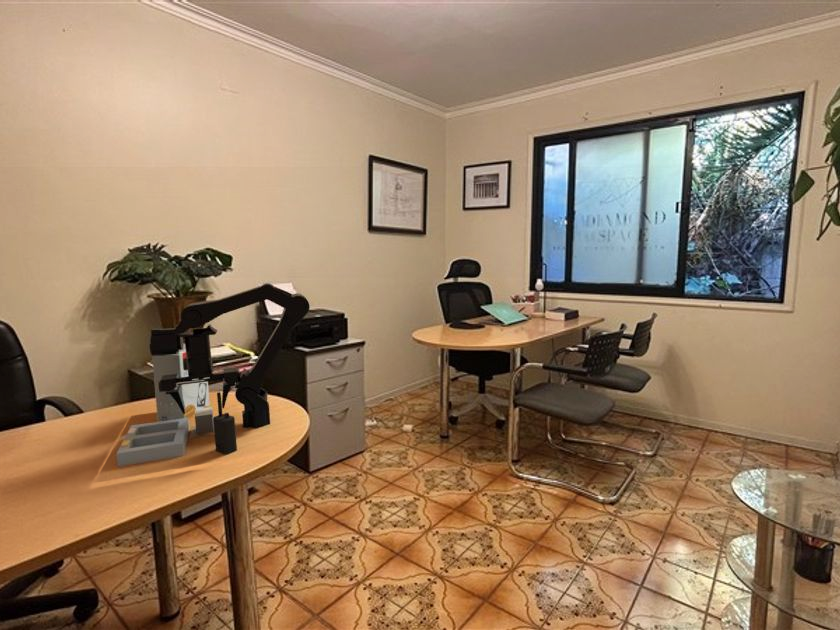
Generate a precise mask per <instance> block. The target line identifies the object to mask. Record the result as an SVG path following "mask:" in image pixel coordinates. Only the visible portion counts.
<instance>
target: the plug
mask: <svg viewBox="0 0 840 630" xmlns="http://www.w3.org/2000/svg"><path fill="white" fill-rule="evenodd" d="M213 411H214V410H213V407H212V406H210V407H209V406H207V407H204V408H200V409H196V410H195V414H194V423H195V426H196V434H202V433H208V432H213V431H214V422H213V418H214V413H213Z"/></svg>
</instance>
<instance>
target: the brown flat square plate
mask: <svg viewBox="0 0 840 630" xmlns="http://www.w3.org/2000/svg"><path fill="white" fill-rule="evenodd" d="M208 436H215V434H214V431H213V432H208V433H202V434H196V425H195V426H191V428H190V433H189V439H195V438H201V437H208Z"/></svg>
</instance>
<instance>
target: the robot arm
mask: <svg viewBox="0 0 840 630" xmlns="http://www.w3.org/2000/svg"><path fill="white" fill-rule="evenodd" d="M263 301H269V302H272V303H274V304H275V305H278V306H280V307H281V308H283V309H282V313H281V316H280V319H279V322H278V323H277V326H276V327H275V328H274V330H273V332H272V334H271V335H270V337H269V339H268V341H267V342H266V344H265V346H264V348H262V351H261V352H260V354H259V355H258V358H256V361H255V363H254V364H253V365H252V367H250V369H249V370H247V369H246V368H245V367H244V368H243V369H242V372H241V374H240V368H239V367H236V366H235V367H228V368H227V367H226V368H223V372H217V373H214V363H213V360H212V351H211V341H210V339H211V337H210V336H215V335H216V334H217V333H218V329H216V328H215V327H213V326H212V325H211V324H208V323H210V322H212V321H213V320H215V319H217V318H218V317H220V316H222V315H224V314H227V313H230V312H233V311H236V310H239V309H242V308H245V307H249V306H251V305H254V304H255V305H256V304H257V303H260V302H263ZM310 307H311V306H310V303H309V300H308V299H307V297H306V296H305V295H303V294H302V293H291V292H289V291H286V290H284V289H282V288H279V287H277V286H275V285H274V284H272V283H269V282H266V283H265V282H264V283H262V285H259V286H256V287H253V288H250V289H247V290H243V291H241V292H238V293H237V292H236V293H235V294H232V295H229V296H225V297H222V298H219V299H212V300H202V301H197V302H192V303H190V304H188V305H187V306H185V307H184V308H183V309H182V310H181V313H180V321H179V323H177V325H175V327H172V328H170V327H169V328H160V327H159V328H155V327H154V328H153V329H151V330H150V334H151V335H150V341H149V351H150V355H151V357H152V356H162V355H174V354H179V350H183V344H185V348H186V358H183V369H184V370H185V371H186V370H188V377H179V378H178V374H171V375H163V376H162V377H161V378H160V380H159V384H158V385H159V391H160V392H164V391H166V392H165V393H166V394H170V395H171V396H172V397H173V399H174V400H175V401H176V402H177V404H178V406H179V407H180V409H181V411H182V412H183V414H185V405H184V401H183V396H182V392H181V385H183V384H192V383H200V382H208V383H209V382H217V381H222V393H221V394H222V395H221V403H222V409H225V405H226V402H227V398H228V395H229V393H230V390H231V388H232V387H234V389H235V394H234V395H235V399H236V400H237V402H239V403H240V404H242V405H243V407H244V408H243V410H242V411H241V414H242V415H241V416H242V427H243V429H244V428H245V429H248V428H251V429H256V428H257V429H258V428H263V427H266V426H267V425H271V416H270V415H271V414H270V413H271V412H270V404H269V403H270V402H269V401H268V391H266V390H265V389H264V388H263V384H264V381H265V378H266V376H267V373H268V371H269V369H270V368H271V366H272V364H273V363H274V361H275V360H276V357H277V356H278V355H279V353H280V351H281V349H282V347H283V346H284V344H285V343H286V341H287V339H288V337H289V336H290V334H291V332H292V330H293V329H294V328H295V327H297V325H298V324H300V322H302V320H303V319H304V318H305V317H306V316H307V314H308V313H309V311H310ZM205 324H208V325H207V327H202V326H204V325H205ZM190 329H193V331H189V330H190ZM187 331H188V332H187ZM204 378H205V379H204ZM192 379H197V380H192Z"/></svg>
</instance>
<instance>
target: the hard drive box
mask: <svg viewBox="0 0 840 630" xmlns="http://www.w3.org/2000/svg"><path fill="white" fill-rule="evenodd" d="M151 357H152V367H153V368H152V369H153V380H154V381H153V382H154V393H155V395H154V396H155V404H156V405H155V406H156V407H155V408H156V416H157V417H156V418H157V422H161V421H168V420H175V419H182V418H188V420H189V419H190V418H192V417H193V416H195V410H196V409H200V408H206V407H209V406H210V405H211V404H210V393H209V392H210V391H209V382H200V383H192V384H183V385H181V392H182V396H183V401H184V405H185V414H183V412H182V411H181V409H180V407H179V406H178V404H177V402H176V401H175V400H174V399H173V397H172V396H171V395H170V394H166V393H165V392H166V391H164V392H160V391H159V385H158V384H159V380H160V378H161V377H162V376H163V375H171V374H178V378H179V377H188V370H186V371H185V370H184V369H183V358H186V348H185V343H183V350H179V354H174V355H162V356H152V355H151ZM204 379H205V378H204ZM192 380H197V379H192ZM210 407H211V406H210Z"/></svg>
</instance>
